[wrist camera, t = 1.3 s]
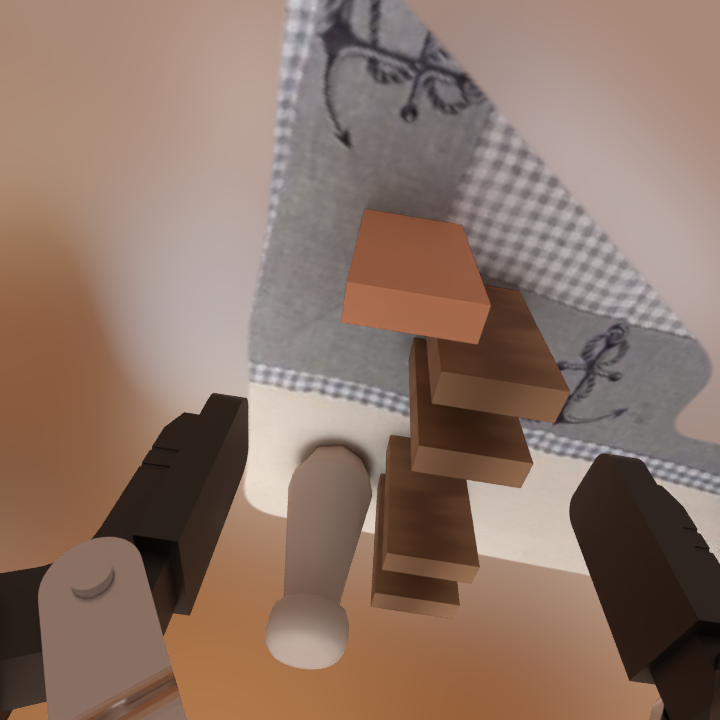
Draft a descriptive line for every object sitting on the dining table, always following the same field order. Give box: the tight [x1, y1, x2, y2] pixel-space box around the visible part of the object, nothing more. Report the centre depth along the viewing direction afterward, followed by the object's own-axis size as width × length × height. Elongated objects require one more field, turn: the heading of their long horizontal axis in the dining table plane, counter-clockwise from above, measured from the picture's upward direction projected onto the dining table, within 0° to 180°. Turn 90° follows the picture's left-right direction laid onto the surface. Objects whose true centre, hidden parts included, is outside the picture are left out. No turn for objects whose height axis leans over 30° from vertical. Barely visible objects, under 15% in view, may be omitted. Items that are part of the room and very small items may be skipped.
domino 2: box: [426, 285, 570, 423], centre depth 21 cm, size 5×2×9 cm, turn 82°
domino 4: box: [382, 435, 480, 583], centre depth 28 cm, size 5×2×9 cm, turn 82°
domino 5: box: [371, 474, 460, 619], centre depth 30 cm, size 5×2×9 cm, turn 82°
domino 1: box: [341, 209, 491, 344], centre depth 19 cm, size 5×2×9 cm, turn 82°
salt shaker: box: [265, 446, 372, 669], centre depth 28 cm, size 6×6×13 cm
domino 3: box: [409, 338, 533, 488], centre depth 23 cm, size 5×2×9 cm, turn 82°
